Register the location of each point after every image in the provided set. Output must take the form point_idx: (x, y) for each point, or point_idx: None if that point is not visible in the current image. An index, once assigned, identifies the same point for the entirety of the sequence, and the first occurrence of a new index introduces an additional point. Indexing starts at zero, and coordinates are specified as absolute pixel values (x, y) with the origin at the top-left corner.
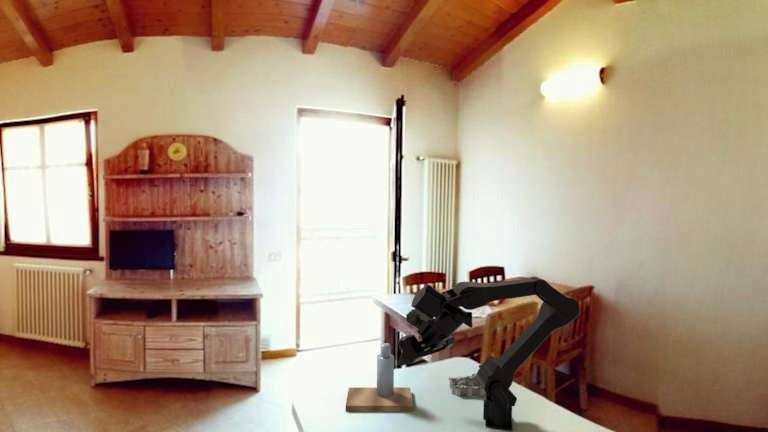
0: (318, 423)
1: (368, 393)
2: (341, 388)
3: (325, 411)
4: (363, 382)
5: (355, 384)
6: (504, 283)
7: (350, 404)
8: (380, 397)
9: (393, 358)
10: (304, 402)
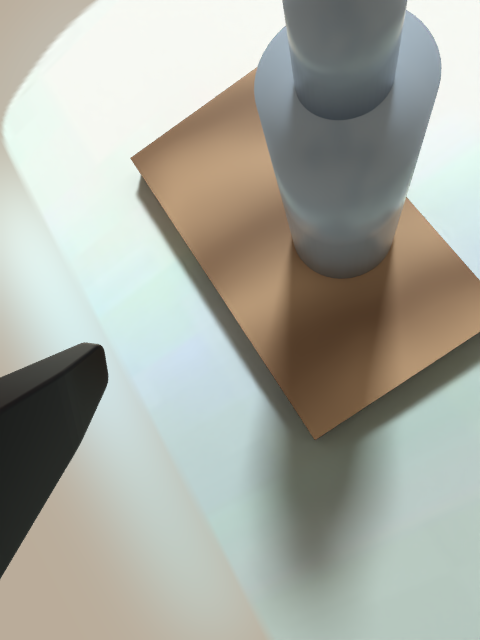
0: (24, 153)
1: None
2: None
3: (101, 112)
4: None
5: None
6: None
7: (148, 168)
8: (284, 239)
9: (363, 156)
10: (114, 6)
